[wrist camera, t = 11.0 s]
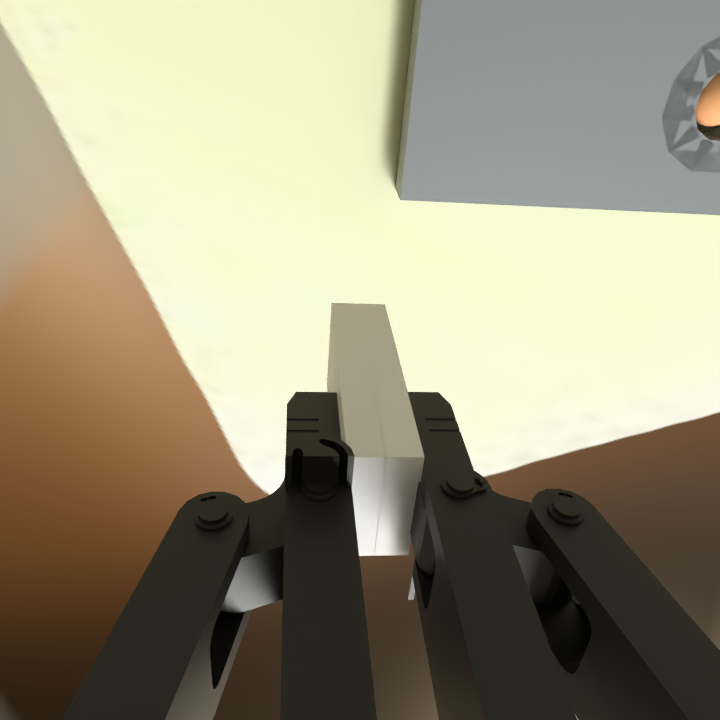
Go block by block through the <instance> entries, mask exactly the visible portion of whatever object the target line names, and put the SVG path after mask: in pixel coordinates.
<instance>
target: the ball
mask: <svg viewBox="0 0 720 720" xmlns="http://www.w3.org/2000/svg"><path fill="white" fill-rule="evenodd" d="M695 117H696V123H698V124H700V125H704V126H717V125H720V72H719V73H717V74H716V75H715V76H714V77H713V78H712V80H711V81H710V82H709V83H708V84H707V85H706V87H705V88H704V89H703V90H702V91H701V94H700V97H699V100H698V103H697V106H696V109H695Z"/></svg>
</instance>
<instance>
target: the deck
mask: <svg viewBox="0 0 720 720" xmlns="http://www.w3.org/2000/svg"><path fill="white" fill-rule="evenodd" d="M719 72H720V0H415V4H414V13H413V23H412V33H411V42H410V52H409V62H408V71H407V81H406V91H405V100H404V110H403V120H402V129H401V139H400V149H399V158H398V168H397V178H396V187H395V189H396V191H397V193H398V195H399V198H400V200H412V201H434V202H455V203H476V204H497V205H518V206H539V207H560V208H581V209H603V210H624V211H645V212H666V213H687V214H708V215H720V126H718V127H716V128H714V129H712V130H710V131H707V132H700V131H699V130H698V129H697V123H696V117H695V109H696V106H697V103H698V100H699V97H700V94H701V91H702V90H703V89H704V88H705V87H706V85H707V84H708V83H709V82H710V81H711V80H712V78H713V77H714V76H715V75H716V74H717V73H719Z"/></svg>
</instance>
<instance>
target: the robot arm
mask: <svg viewBox="0 0 720 720" xmlns="http://www.w3.org/2000/svg"><path fill="white" fill-rule="evenodd" d="M327 390H328V392H296V393H295V394H294V396H293V397H292V398H291V400H290V401H289V402H288V404H287V433H286V458H285V478H284V481H283V483H282V485H281V486H280V487H279V488H278V489H277V490H276V491H275V492H274V493H272V494H271V495H269V496H267V497H266V498H263V499H260V500H257V501H253V502H250V503H245V502H244V501H242V500H241V499H240V498H239V497H238V496H235V495H232V494H229V493H226V492H209V493H204V494H200V495H198V496H196V497H194V498H192V499H190V500H189V501H187V502H186V503H185V504H184V505H183V506H182V508H181V509H180V510H179V511H178V513H177V515H176V517H175V519H174V520H173V522H172V524H171V526H170V527H169V529H168V531H167V533H166V535H165V536H164V538H163V540H162V542H161V544H160V545H159V547H158V549H157V551H156V552H155V554H154V556H153V558H152V560H151V561H150V563H149V565H148V567H147V569H146V570H145V572H144V574H143V576H142V578H141V579H140V581H139V583H138V585H137V587H136V588H135V590H134V592H133V594H132V595H131V597H130V599H129V601H128V603H127V604H126V606H125V608H124V610H123V612H122V613H121V615H120V617H119V619H118V620H117V623H116V624H115V626H114V628H113V630H112V631H111V633H110V635H109V637H108V638H107V640H106V642H105V644H104V646H103V647H102V649H101V651H100V653H99V655H98V656H97V658H96V660H95V662H94V663H93V665H92V667H91V669H90V671H89V672H88V674H87V676H86V678H85V680H84V681H83V683H82V685H81V687H80V688H79V690H78V692H77V694H76V696H75V697H74V699H73V701H72V703H71V705H70V707H69V708H68V710H67V712H66V713H65V715H64V717H63V719H62V720H213V718H214V715H215V712H216V709H217V707H218V704H219V701H220V698H221V695H222V692H223V690H224V687H225V684H226V681H227V678H228V675H229V673H230V670H231V667H232V664H233V661H234V658H235V656H236V653H237V650H238V647H239V644H240V641H241V639H242V636H243V633H244V630H245V627H246V625H247V622H248V619H249V616H250V611H251V609H254V608H257V607H260V606H263V605H266V604H269V603H272V602H275V601H278V600H282V599H283V617H282V667H281V669H282V670H281V713H280V720H377V717H376V707H375V698H374V690H373V680H372V671H371V661H370V653H369V643H368V634H367V625H366V616H365V606H364V597H363V588H362V578H361V569H360V560H359V556H372V555H409V549H410V543H411V539H412V544H413V549H414V554H415V557H414V562H413V569H412V574H411V580H410V586H409V593H408V600H413V599H414V593H416V598H417V603H418V609H419V614H420V620H421V625H422V630H423V636H424V641H425V646H426V652H427V658H428V663H429V668H430V674H431V679H432V684H433V690H434V695H435V701H436V705H437V711H438V716H439V720H577V719H576V716H577V718H578V719H579V720H720V650H719V649H718V648H717V647H716V646H715V645H714V644H713V642H711V640H710V639H709V638H708V637H707V636H706V634H705V633H704V632H703V631H702V630H701V629H700V628H699V626H698V625H697V624H696V623H695V622H694V621H693V620H692V619H691V617H690V616H689V615H688V614H687V613H686V612H685V610H684V609H683V608H682V607H681V606H680V605H679V603H678V602H677V601H676V600H675V599H674V598H673V597H672V596H671V594H670V593H669V592H668V591H667V590H666V589H665V588H664V586H663V585H662V584H661V583H660V582H659V581H658V579H657V578H656V577H655V576H654V575H653V574H652V573H651V571H650V570H649V569H648V568H647V567H646V566H645V565H644V563H643V562H642V561H641V560H640V559H639V558H638V557H637V556H636V554H635V553H634V552H633V551H632V550H631V549H630V547H629V546H628V545H627V544H626V543H625V542H624V541H623V539H622V538H621V537H620V536H619V535H618V534H617V533H616V531H615V530H614V529H613V528H612V527H611V526H610V525H609V523H608V522H607V521H606V520H605V519H604V518H603V516H602V515H601V514H600V513H599V512H598V511H597V510H596V508H595V507H594V506H593V505H592V504H590V503H589V502H588V501H587V500H586V499H585V498H583V497H581V496H579V495H577V494H575V493H573V492H571V491H566V490H562V489H546V490H544V491H541V492H539V493H537V494H536V496H535V497H534V498H533V499H532V502H531V503H530V502H526V501H521V500H517V499H513V498H509V497H506V496H503V495H500V494H498V493H496V492H494V491H492V489H491V487H490V485H489V484H488V482H487V480H486V479H485V478H484V477H482V476H481V475H480V474H478V473H477V472H475V471H474V470H473V467H472V464H471V461H470V458H469V455H468V453H467V450H466V447H465V444H464V441H463V438H462V436H461V433H460V432H459V427H458V424H457V421H455V416H454V413H453V410H452V407H451V405H450V404H449V403H448V402H447V401H446V400H445V399H444V398H443V397H442V396H441V395H440V394H439V393H438V392H407V388H406V384H405V380H404V376H403V372H402V369H401V365H400V361H399V357H398V353H397V349H396V346H395V342H394V338H393V334H392V330H391V326H390V323H389V319H388V315H387V311H386V307H385V305H382V304H347V303H332V306H331V324H330V342H329V360H328V378H327ZM575 714H576V716H575Z"/></svg>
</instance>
